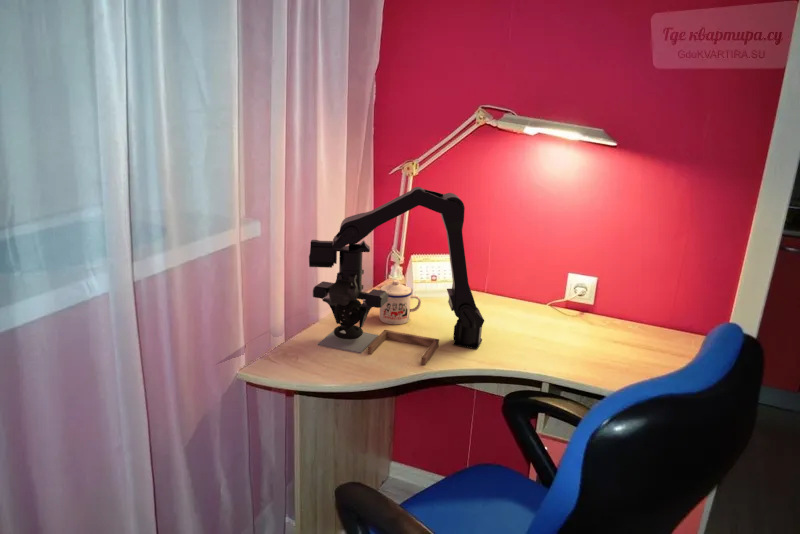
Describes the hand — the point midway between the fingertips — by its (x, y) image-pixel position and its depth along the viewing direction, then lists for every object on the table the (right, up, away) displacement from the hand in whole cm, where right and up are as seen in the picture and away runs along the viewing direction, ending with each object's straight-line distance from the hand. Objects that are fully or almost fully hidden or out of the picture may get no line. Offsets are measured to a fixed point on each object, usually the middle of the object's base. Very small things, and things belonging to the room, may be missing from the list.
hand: (349, 325), depth 155 cm
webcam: (0, -2, +1) cm, 3 cm away
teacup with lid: (+13, 0, +17) cm, 22 cm away
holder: (+14, -6, -3) cm, 16 cm away
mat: (0, -4, +1) cm, 4 cm away
